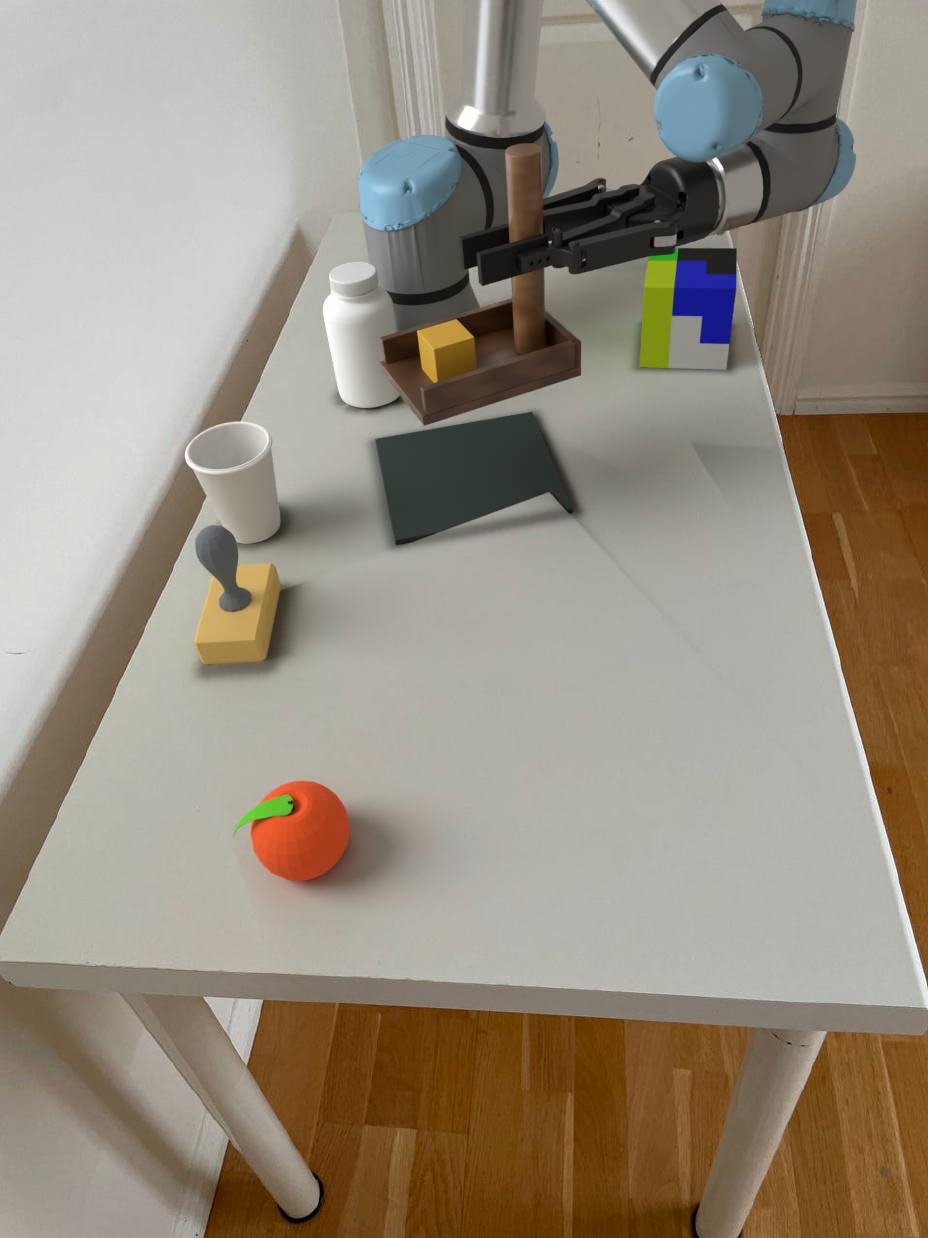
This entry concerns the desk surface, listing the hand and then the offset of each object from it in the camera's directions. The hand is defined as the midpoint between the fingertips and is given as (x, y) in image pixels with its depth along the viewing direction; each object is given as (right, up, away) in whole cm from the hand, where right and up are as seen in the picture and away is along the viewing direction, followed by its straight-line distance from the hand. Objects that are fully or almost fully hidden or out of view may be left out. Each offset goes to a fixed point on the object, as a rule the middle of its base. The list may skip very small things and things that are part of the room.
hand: (470, 261), depth 82 cm
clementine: (-12, -49, -13) cm, 52 cm away
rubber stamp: (-21, -32, +5) cm, 38 cm away
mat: (0, -16, +18) cm, 24 cm away
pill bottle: (-12, -4, +31) cm, 34 cm away
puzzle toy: (+26, +2, +33) cm, 42 cm away
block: (-2, -8, +6) cm, 10 cm away
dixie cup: (-22, -22, +15) cm, 35 cm away
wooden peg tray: (+1, -8, +8) cm, 11 cm away
